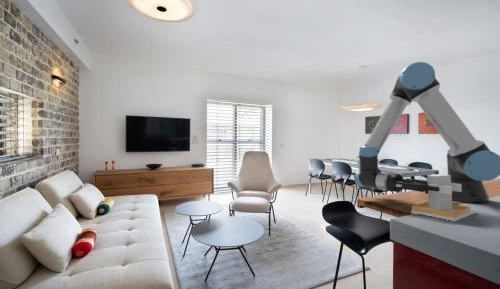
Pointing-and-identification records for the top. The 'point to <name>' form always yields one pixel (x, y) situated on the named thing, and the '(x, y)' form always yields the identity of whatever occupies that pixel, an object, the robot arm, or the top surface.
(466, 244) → the top surface
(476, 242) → the top surface
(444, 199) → the skincare box
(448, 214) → the shallow wooden tray
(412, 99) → the robot arm
